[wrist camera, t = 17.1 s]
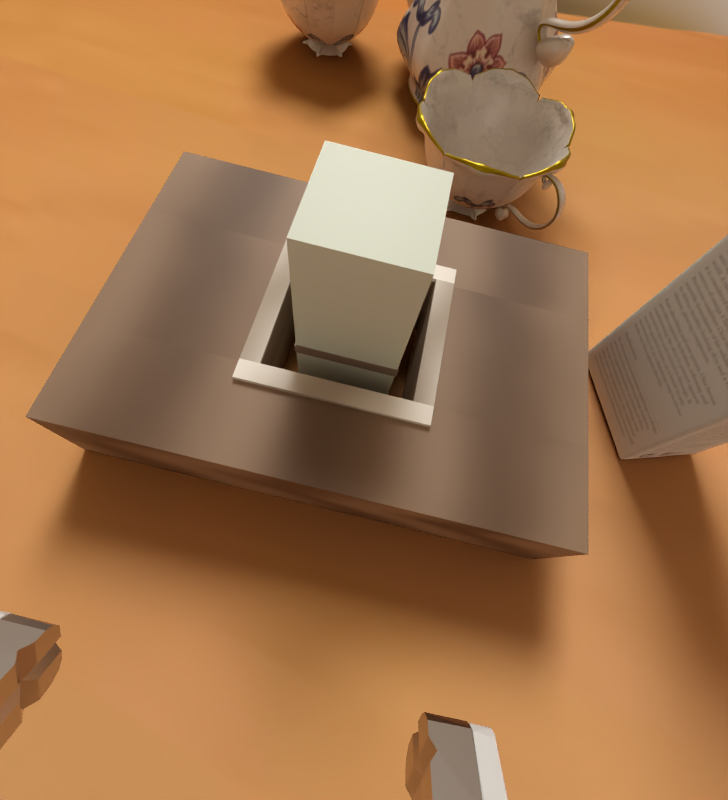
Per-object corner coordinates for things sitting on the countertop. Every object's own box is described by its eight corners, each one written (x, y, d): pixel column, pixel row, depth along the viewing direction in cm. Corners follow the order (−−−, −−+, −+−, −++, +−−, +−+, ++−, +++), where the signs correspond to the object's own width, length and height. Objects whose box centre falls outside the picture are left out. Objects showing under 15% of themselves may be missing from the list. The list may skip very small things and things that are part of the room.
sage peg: (397, 342, 22) (455, 172, 13) (381, 413, 20) (435, 276, 11) (320, 323, 22) (324, 138, 13) (298, 392, 20) (283, 238, 11)
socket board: (546, 302, 24) (590, 249, 20) (533, 559, 18) (591, 553, 14) (204, 217, 24) (182, 147, 20) (84, 449, 18) (21, 414, 14)
